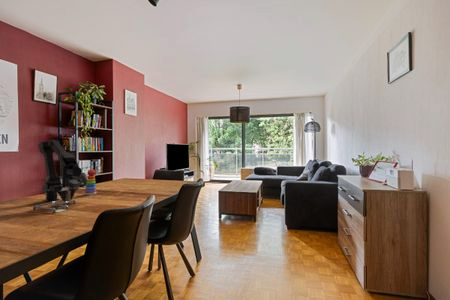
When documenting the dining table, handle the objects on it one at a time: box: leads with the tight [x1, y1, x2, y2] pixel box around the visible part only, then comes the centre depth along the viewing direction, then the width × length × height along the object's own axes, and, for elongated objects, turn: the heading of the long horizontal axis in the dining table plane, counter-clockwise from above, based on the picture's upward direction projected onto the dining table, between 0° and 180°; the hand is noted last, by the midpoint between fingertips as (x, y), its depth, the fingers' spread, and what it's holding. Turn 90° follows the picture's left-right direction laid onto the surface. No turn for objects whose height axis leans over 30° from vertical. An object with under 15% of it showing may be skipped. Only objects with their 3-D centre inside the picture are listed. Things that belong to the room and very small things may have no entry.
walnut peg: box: [63, 189, 72, 205], centre depth 148 cm, size 3×3×8 cm
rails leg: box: [33, 203, 69, 214], centre depth 134 cm, size 17×8×2 cm, turn 69°
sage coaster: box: [51, 208, 67, 213], centre depth 132 cm, size 5×5×1 cm
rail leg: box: [32, 199, 77, 211], centre depth 141 cm, size 8×20×2 cm, turn 159°
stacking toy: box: [83, 168, 97, 196], centre depth 177 cm, size 8×8×19 cm
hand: (67, 200), depth 148 cm, fingers open, 4 cm apart
